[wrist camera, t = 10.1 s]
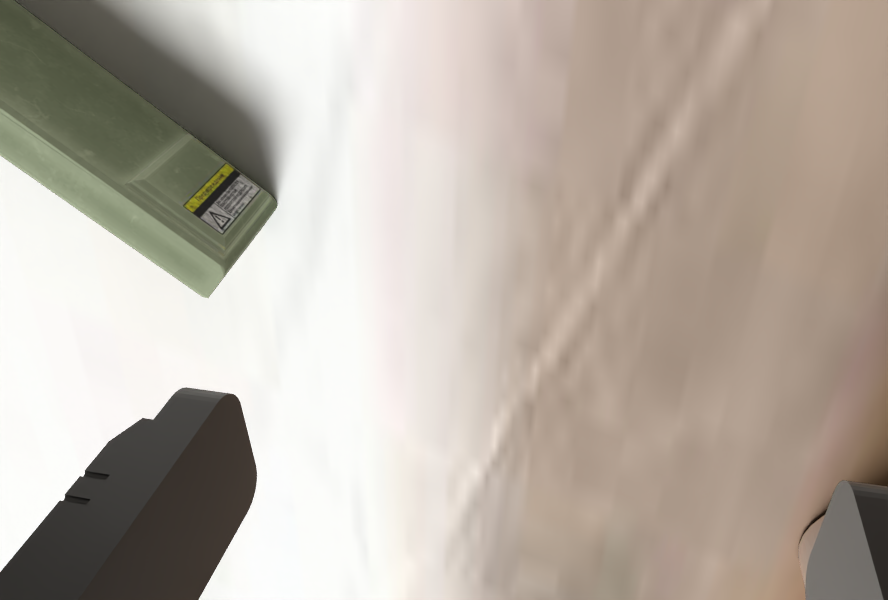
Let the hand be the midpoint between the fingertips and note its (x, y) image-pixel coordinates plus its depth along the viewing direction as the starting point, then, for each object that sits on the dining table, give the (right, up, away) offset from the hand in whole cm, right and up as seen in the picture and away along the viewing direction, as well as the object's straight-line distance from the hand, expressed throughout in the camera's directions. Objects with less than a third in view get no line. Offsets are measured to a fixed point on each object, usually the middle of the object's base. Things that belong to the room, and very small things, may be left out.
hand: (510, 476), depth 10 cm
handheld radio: (-19, +14, +24) cm, 34 cm away
